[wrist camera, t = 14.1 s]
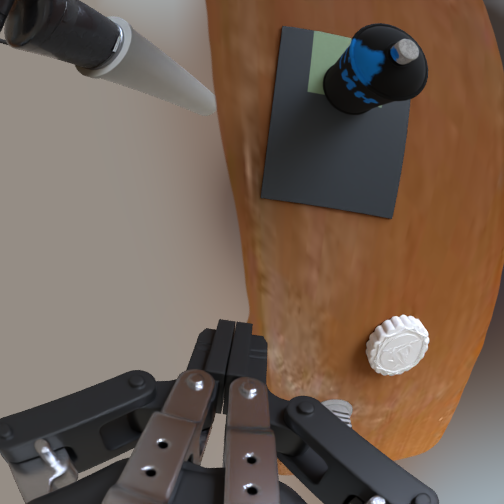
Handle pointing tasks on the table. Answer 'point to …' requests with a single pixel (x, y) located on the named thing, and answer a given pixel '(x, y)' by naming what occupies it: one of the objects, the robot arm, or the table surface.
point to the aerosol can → (376, 70)
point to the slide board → (329, 135)
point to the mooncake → (397, 345)
